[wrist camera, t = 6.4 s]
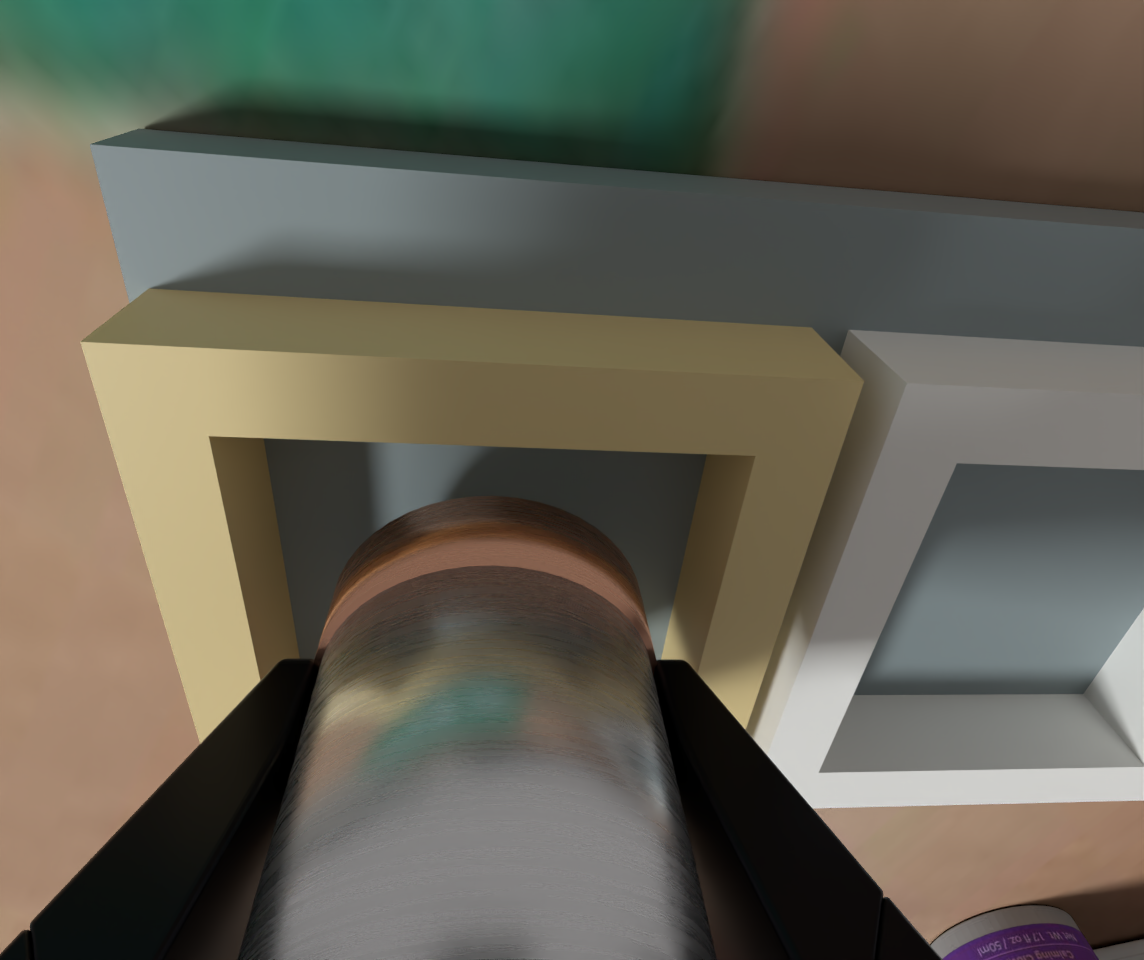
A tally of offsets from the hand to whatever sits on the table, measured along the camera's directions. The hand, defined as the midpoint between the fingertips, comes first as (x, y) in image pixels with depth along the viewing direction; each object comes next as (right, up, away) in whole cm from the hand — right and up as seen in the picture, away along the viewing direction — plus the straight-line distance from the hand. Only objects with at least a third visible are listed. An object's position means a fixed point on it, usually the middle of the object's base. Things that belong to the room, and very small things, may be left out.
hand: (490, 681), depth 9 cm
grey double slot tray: (+4, +2, +3) cm, 5 cm away
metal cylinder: (0, +1, +1) cm, 1 cm away
